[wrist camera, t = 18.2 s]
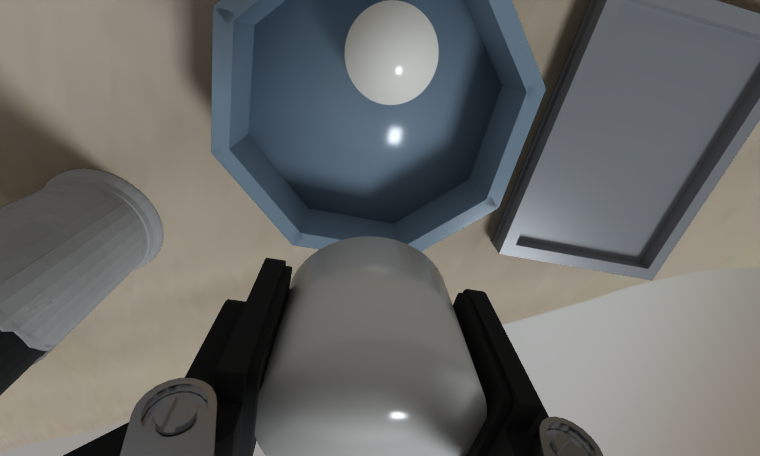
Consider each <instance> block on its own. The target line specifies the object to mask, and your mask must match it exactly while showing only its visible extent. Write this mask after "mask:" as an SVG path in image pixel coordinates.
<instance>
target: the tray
mask: <svg viewBox="0 0 760 456" xmlns="http://www.w3.org/2000/svg"><path fill="white" fill-rule="evenodd" d="M759 120H760V14H759V13H756V12H753V11H750V10H746V9H743V8H740V7H737V6H733V5H730V4H727V3H724V2H720V1H717V0H591V1H590V3H589V6H588V8H587V11H586V13H585V16H584V18H583V21H582V23H581V26H580V28H579V30H578V33H577V35H576V38H575V40H574V43H573V45H572V48H571V50H570V52H569V55H568V57H567V60H566V62H565V65H564V67H563V70H562V72H561V74H560V77H559V79H558V82H557V84H556V87H555V89H554V92H553V94H552V97H551V99H550V101H549V104H548V106H547V109H546V111H545V114H544V116H543V119H542V121H541V123H540V126H539V128H538V131H537V133H536V136H535V138H534V141H533V143H532V146H531V148H530V150H529V153H528V155H527V158H526V160H525V163H524V165H523V168H522V170H521V172H520V175H519V177H518V180H517V182H516V185H515V187H514V190H513V192H512V194H511V197H510V199H509V202H508V204H507V207H506V209H505V212H504V214H503V217H502V219H501V221H500V224H499V226H498V229H497V231H496V234H495V236H494V239H493V241H492V244H493V245H494V247H495V248H496V250H497V251H498V253H499V254H503V255H509V256H515V257H520V258H526V259H532V260H538V261H543V262H549V263H555V264H560V265H566V266H572V267H578V268H583V269H589V270H595V271H601V272H606V273H612V274H618V275H623V276H629V277H635V278H641V279H646V280H653V279H654V277H655V276H656V274H657V273H658V271H659V270H660V268H661V267H662V265H663V264H664V262H665V261H666V259H667V258H668V256H669V255H670V253H671V252H672V250H673V249H674V247H675V246H676V244H677V243H678V241H679V240H680V238H681V237H682V235H683V234H684V232H685V231H686V229H687V228H688V226H689V225H690V223H691V222H692V220H693V219H694V217H695V216H696V214H697V213H698V211H699V210H700V208H701V207H702V205H703V204H704V202H705V201H706V199H707V198H708V196H709V195H710V193H711V192H712V190H713V189H714V187H715V186H716V184H717V183H718V181H719V180H720V179H721V177H722V176H723V174H724V173H725V171H726V170H727V168H728V167H729V165H730V164H731V162H732V161H733V159H734V158H735V156H736V155H737V153H738V152H739V150H740V149H741V147H742V146H743V144H744V143H745V141H746V140H747V138H748V137H749V135H750V134H751V132H752V131H753V129H754V128H755V126H756V125H757V123H758V122H759Z"/></svg>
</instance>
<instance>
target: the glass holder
mask: <svg viewBox="0 0 760 456" xmlns="http://www.w3.org/2000/svg"><path fill="white" fill-rule="evenodd" d="M162 243H163V227H162V223H161V220H160V217H159V215H158V213H157V211H156V209H155V208H154V206H153V205H152V204H151V202H150V201H149V200H148V198H147V197H146V196H145V195H144V194H143V193H142V192H141V191H139V190H138V189H137V188H135V187H134V186H133V185H132V184H130V183H128V182H127V181H125V180H123V179H122V178H119V177H117V176H115V175H112V174H110V173H107V172H103V171H99V170H93V169H73V170H68V171H65V172H62V173H60V174H58V175H56V176H55V177H53V178H52V179H51V180H49V181H48V182H47V184H46V185H45V186H44V187H43V189H42V190H39V191H37V192H35V193H33V194H30V195H28V196H26V197H24V198H21V199H19V200H17V201H15V202H13V203H10V204H8V205H6V206H4V207H1V208H0V395H1V394H2V393H3V392H4V391H5V390H6V389H7V388H8V387H9V386H10V385H12V384H13V383H14V382H15V381H16V380H17V379H18V378H19V377H20V376H21V375H22V374H23V373H24V372H25V371H26V370H27V369H28V368H29V367H30V366H31V365H32V364H35V363H37V362H38V361H40V360H41V359H42V358H44V357H45V356H46V355H47V354H48V353H49V352H50V351H52V350H53V349H54V348H55V347H56V346H57V345H58V344H59V343H60V342H61V341H62V340H63V339H64V338H65V337H66V336H67V335H68V334H69V333H70V332H71V331H72V330H73V329H74V328H75V327H76V326H77V325H78V324H79V323H80V322H81V321H82V320H83V319H84V318H85V317H86V316H87V315H88V314H89V313H90V312H91V311H92V310H93V309H94V308H95V307H96V306H97V305H98V304H99V303H100V302H101V301H102V300H103V299H104V298H105V297H106V296H108V295H109V294H110V293H111V292H112V291H113V290H114V289H115V288H116V287H117V286H118V285H119V284H120V283H121V282H122V281H123V280H124V279H125V278H126V277H127V276H128V275H129V274H130V273H131V272H132V271H133V270H135V269H138V268H140V267H143V266H144V265H146V264H148V263H149V262H151V261H152V260H153V259H154V258H155V257H156V256H157V254H158V252H159V251H160V249H161V246H162Z"/></svg>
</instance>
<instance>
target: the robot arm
mask: <svg viewBox="0 0 760 456" xmlns="http://www.w3.org/2000/svg"><path fill="white" fill-rule="evenodd" d="M291 273H292V267H290V266H286V261H283V260H277V259H271V258H266V259H265V261H264V263H263V265H262V268H261V270H260V272H259V274H258V277H257V279H256V281H255V283H254V286H253V288H252V290H251V292H250V294H249V297H248V299H247V301H246V302H244V301H237V300H229V299H228V300H226V302H225V303H224V305H223V306H222V308H221V310H220V312H219V314H218V316H217V318H216V320H215V322H214V323H213V325H212V327H211V329H210V331H209V333H208V335H207V337H206V339H205V340H204V342H203V344H202V346H201V348H200V350H199V352H198V354H197V356H196V357H195V359H194V361H193V363H192V365H191V367H190V369H189V371H188V373H187V374H186V376H185V378H178V379H173V380H169V381H166V382H164V383H162V384H160V385H157V386H155V387H154V388H153V389H151V390H150V391H148V392H147V393H146V394H145V395H144V396H143V397H142V398H141V399H140V400H139V401H138V402H137V404H136V406H135V408H134V410H133V412H132V414H131V417H130V421H129V422H128V423H126V424H124V425H122V426H120V427H119V428H117V429H115V430H113V431H111V432H109V433H107V434H105V435H103V436H101V437H99V438H97V439H95V440H93V441H91V442H89V443H87V444H85V445H83V446H81V447H79V448H77V449H75V450H73V451H71V452H70V453H67V454H66V455H63V456H253V452H254V448H255V444H256V441H257V440H256V437H255V425H256V415H257V405H258V396H259V392H260V388H261V385H262V381H263V378H264V374H265V371H266V368H267V364H268V361H269V357H270V354H271V351H272V347H273V344H274V340H275V337H276V333H277V330H278V327H279V323H280V320H281V316H282V313H283V309H284V306H285V303H286V299H287V296H288V292H289V288H290V281H291ZM453 308H454V311H455V314H456V317H457V319H458V322H459V325H460V328H461V331H462V333H463V336H464V339H465V342H466V345H467V347H468V350H469V353H470V356H471V359H472V362H473V364H474V367H475V370H476V373H477V376H478V378H479V381H480V384H481V387H482V390H483V393H484V395H485V398H486V404H487V418H486V420H485V422H484V424H483V426H482V428H481V430H480V431H479V433H478V435H477V437H476V439H475V441H474V443H473V445H472V447H471V448H470V450H469V452H468V454H467V455H466V456H603V454H602V452H601V450H600V448H599V446H598V445H597V444H596V442H595V441H594V440H593V439H592V438H591V436H589V435H588V434H587V433H586V432H585V431H584V430H583V429H582V428H580V427H579V426H577V425H576V424H574V423H573V422H570V421H568V420H566V419H564V418H559V417H549V416H548V414H547V412H546V410H545V409H544V407H543V405H542V403H541V401H540V399H539V397H538V395H537V393H536V391H535V389H534V387H533V385H532V383H531V381H530V379H529V377H528V375H527V373H526V372H525V369H524V367H523V365H522V364H521V361H520V359H519V357H518V355H517V353H516V352H515V350H514V348H513V346H512V344H511V342H510V340H509V338H508V336H507V334H506V332H505V330H504V328H503V326H502V324H501V322H500V320H499V318H498V316H497V314H496V312H495V310H494V309H493V307H492V305H491V303H490V301H489V299H488V297H487V295H486V293H485V292H482V291H476V290H470V289H466V290H464V292H463V293H458V295H457V297H456V299H455V302H454V304H453Z"/></svg>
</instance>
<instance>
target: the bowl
mask: <svg viewBox="0 0 760 456" xmlns="http://www.w3.org/2000/svg"><path fill="white" fill-rule="evenodd" d="M382 1H388V0H219V1H218V2H217V3H216V4H215V5H214V7H213V34H212V111H211V152H212V154H213V155H214V157H215V158H216V159H217V160H218V161H219V162H220V163H221V164H222V166H223V167H224V168H225V169H226V170H227V171H228V172H229V174H230V175H231V176H232V177H233V178H234V179H235V180H236V182H237V183H238V184H239V185H240V186H241V187H242V188H243V189H244V191H245V192H246V193H247V194H248V195H249V196H250V197H251V199H252V200H253V201H254V202H255V203H256V204H257V205H258V207H259V208H260V209H261V210H262V211H263V212H264V213H265V214H266V216H267V217H268V218H269V219H270V220H271V221H272V222H273V224H274V225H275V226H276V227H277V228H278V229H279V230H280V232H281V233H282V234H283V235H284V236H285V237H286V238H287V239H288V241H289V242H290V243H291V244H292V245H295V246H301V247H307V248H313V249H322V248H324V247H326V246H328V245H329V244H332V243H335V242H337V241H340V240H344V239H348V238H354V237H362V236H375V237H384V238H389V239H394V240H397V241H400V242H403V243H406V244H408V245H410V246H412V247H414V248H416V249H417V250H419V251H420V252H421V251H423V250H425V249H426V248H428V247H430V246H432V245H433V244H435V243H437V242H439V241H441V240H442V239H444V238H446V237H448V236H450V235H451V234H453V233H455V232H457V231H459V230H460V229H462V228H464V227H466V226H467V225H469V224H471V223H473V222H475V221H476V220H478V219H480V218H482V217H484V216H485V215H487V214H489V213H491V212H493V211H494V210H496V209H498V208H499V206H500V203H501V201H502V198H503V196H504V193H505V191H506V188H507V186H508V183H509V181H510V178H511V176H512V173H513V171H514V168H515V166H516V163H517V161H518V158H519V155H520V153H521V150H522V148H523V145H524V143H525V140H526V138H527V135H528V133H529V130H530V128H531V125H532V123H533V120H534V118H535V115H536V113H537V110H538V108H539V105H540V103H541V100H542V98H543V95H544V93H545V90H546V87H545V85H544V82H543V80H542V77H541V74H540V72H539V69H538V67H537V64H536V62H535V59H534V56H533V54H532V51H531V49H530V46H529V44H528V41H527V38H526V36H525V33H524V31H523V28H522V26H521V23H520V21H519V18H518V15H517V13H516V10H515V8H514V5H513V3H512V0H397V1H403V2H406V3H409V4H411V5H413V6H415V7H416V8H418V9H419V10H420V11H421V12H422V13H423V14H424V15H425V16H426V17H427V18H428V19H429V21H430V23H431V24H432V26H433V28H434V30H435V33H436V36H437V40H438V48H439V56H438V63H437V68H436V71H435V73H434V76H433V78H432V80H431V81H430V83H429V85H428V86H427V87H426V88H425V90H424V91H423V92H422V93H421V94H419V95H418V96H417V97H415V98H414V99H412V100H410V101H408V102H405V103H402V104H397V105H384V104H380V103H376V102H374V101H372V100H370V99H368V98H367V97H365V96H364V95H363V94H362V93H361V92H360V91H359V90H358V89H357V88H356V87H355V85H354V84H353V82H352V81H351V79H350V77H349V74H348V72H347V68H346V64H345V43H346V38H347V35H348V32H349V30H350V28H351V26H352V24H353V23H354V21H355V20H356V18H357V17H358V16H359V15H360V14H361V13H362V12H363V11H364V10H365V9H367V8H368V7H370V6H372V5H374V4H376V3H379V2H382Z"/></svg>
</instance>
